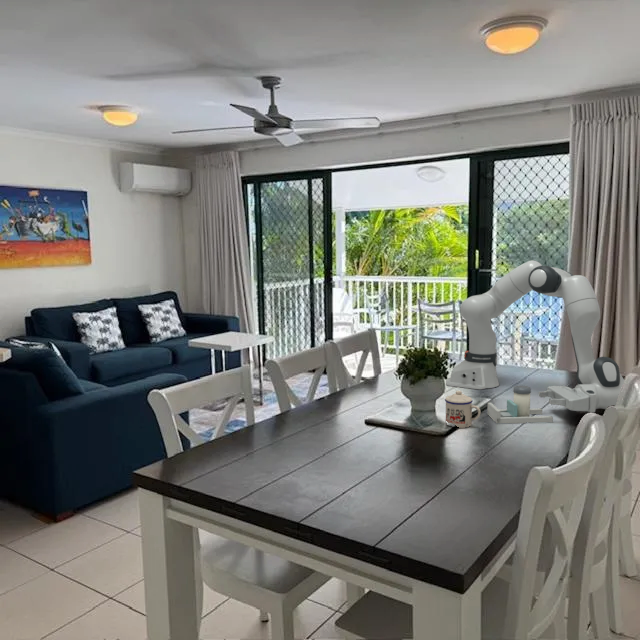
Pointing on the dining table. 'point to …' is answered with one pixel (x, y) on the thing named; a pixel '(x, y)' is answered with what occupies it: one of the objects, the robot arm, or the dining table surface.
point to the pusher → (510, 410)
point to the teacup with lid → (460, 410)
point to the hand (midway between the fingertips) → (544, 398)
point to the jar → (522, 400)
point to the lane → (496, 416)
